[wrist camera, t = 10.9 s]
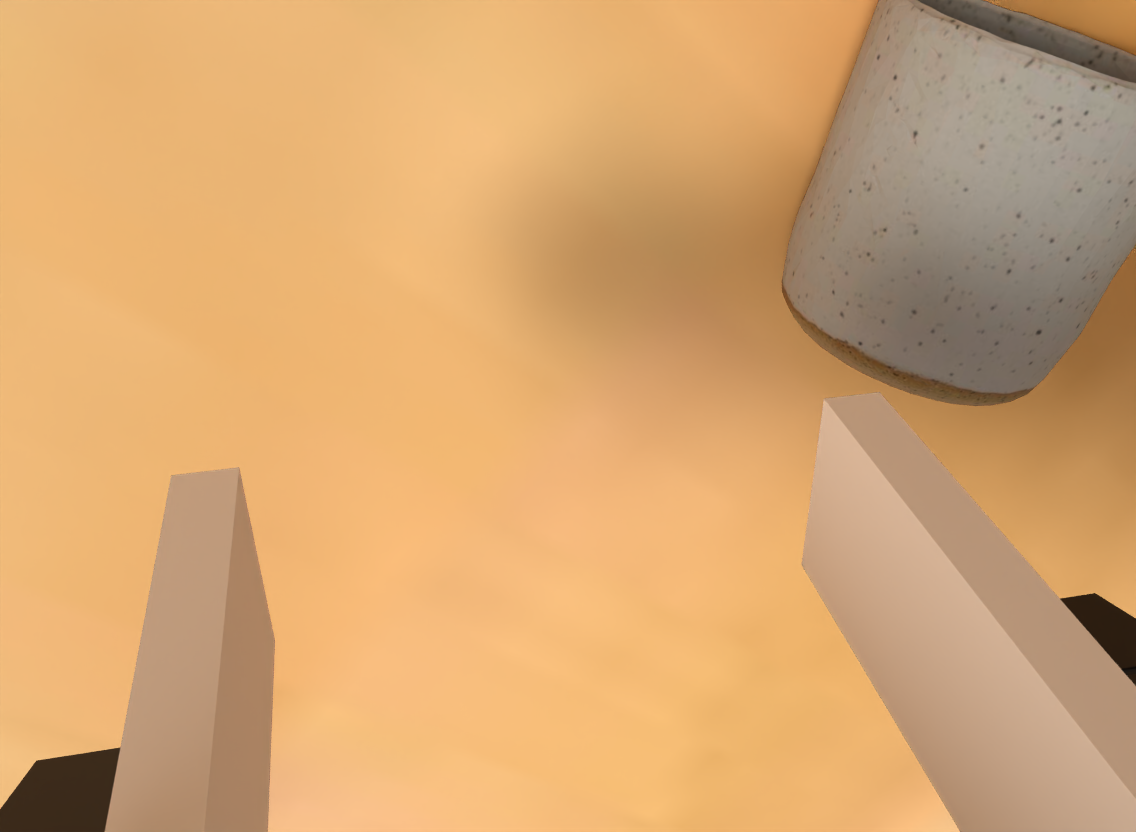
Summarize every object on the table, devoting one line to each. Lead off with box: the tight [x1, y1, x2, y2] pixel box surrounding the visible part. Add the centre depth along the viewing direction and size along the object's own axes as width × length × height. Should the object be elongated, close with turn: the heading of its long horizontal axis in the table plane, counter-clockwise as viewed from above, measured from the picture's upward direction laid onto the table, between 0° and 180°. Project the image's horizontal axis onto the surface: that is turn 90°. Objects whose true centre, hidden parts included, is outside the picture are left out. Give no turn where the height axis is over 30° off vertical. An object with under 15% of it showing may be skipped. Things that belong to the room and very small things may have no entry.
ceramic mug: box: [782, 0, 1136, 406], centre depth 26 cm, size 11×8×8 cm
